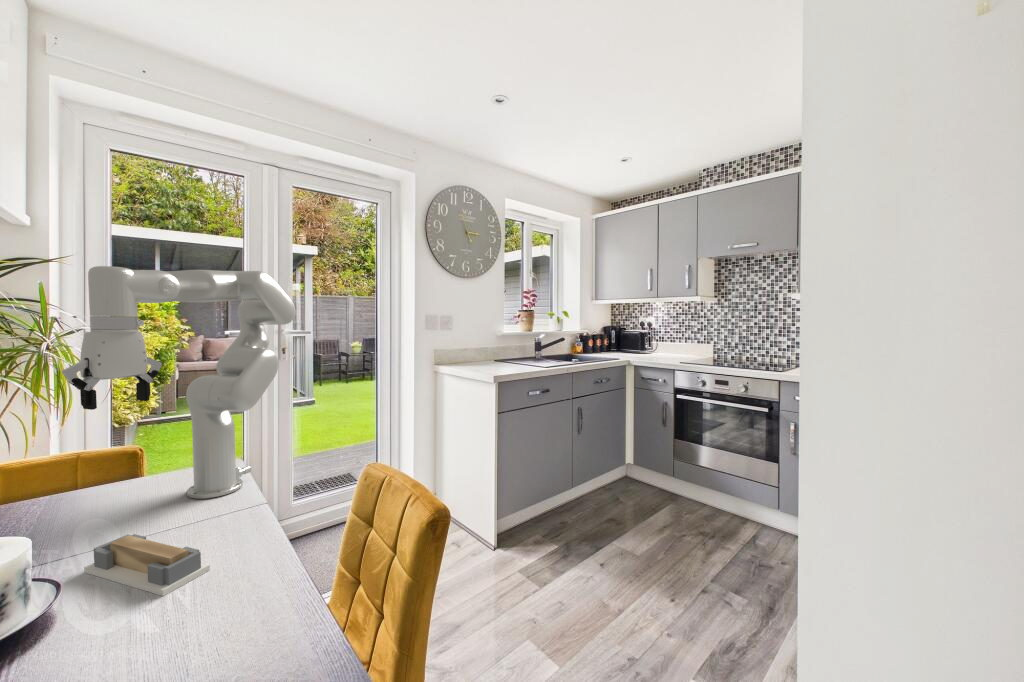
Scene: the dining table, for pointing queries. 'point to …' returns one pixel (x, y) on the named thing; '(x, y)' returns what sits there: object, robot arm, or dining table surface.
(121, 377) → the robot arm
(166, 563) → the slat
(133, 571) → the mounting board
